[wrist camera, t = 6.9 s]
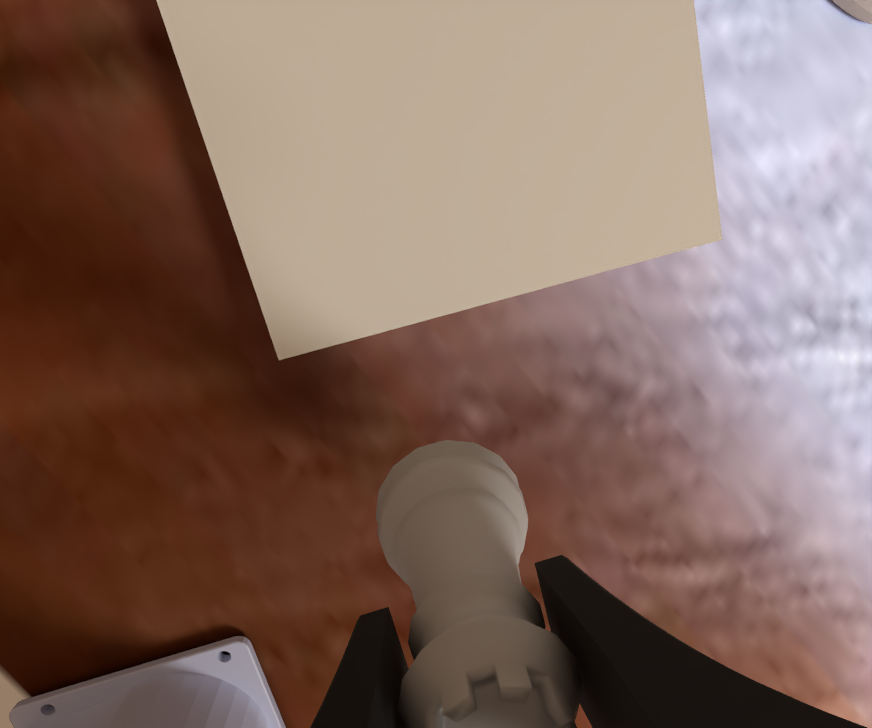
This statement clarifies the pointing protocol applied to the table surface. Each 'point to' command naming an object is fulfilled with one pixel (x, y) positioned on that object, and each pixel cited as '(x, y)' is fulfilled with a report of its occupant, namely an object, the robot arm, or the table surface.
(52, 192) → the table surface
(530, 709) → the rook chess piece
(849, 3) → the eye dropper bottle
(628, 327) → the table surface
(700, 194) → the cream tile
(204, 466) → the table surface
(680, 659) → the robot arm
